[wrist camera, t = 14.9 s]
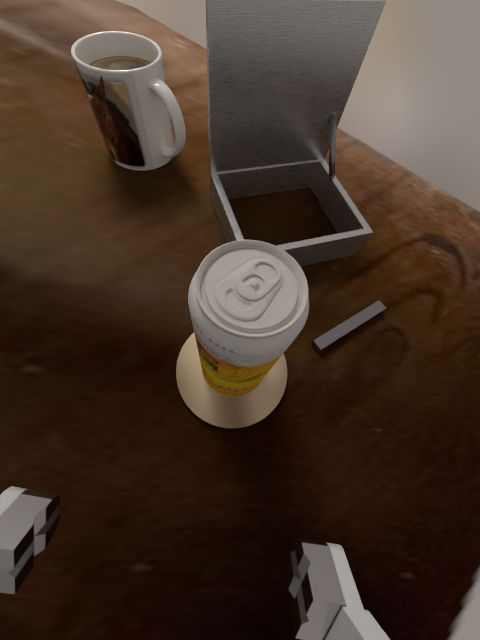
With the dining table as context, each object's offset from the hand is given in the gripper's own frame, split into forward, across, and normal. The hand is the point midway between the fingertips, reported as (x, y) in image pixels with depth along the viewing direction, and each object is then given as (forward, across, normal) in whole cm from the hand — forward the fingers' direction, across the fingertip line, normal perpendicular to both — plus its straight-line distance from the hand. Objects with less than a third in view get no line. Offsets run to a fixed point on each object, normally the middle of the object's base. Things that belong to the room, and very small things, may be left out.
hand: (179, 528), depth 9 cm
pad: (+17, -2, +2) cm, 17 cm away
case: (+30, -4, -13) cm, 33 cm away
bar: (+22, -14, -3) cm, 26 cm away
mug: (+38, +17, -19) cm, 45 cm away
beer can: (+17, -2, +2) cm, 17 cm away
